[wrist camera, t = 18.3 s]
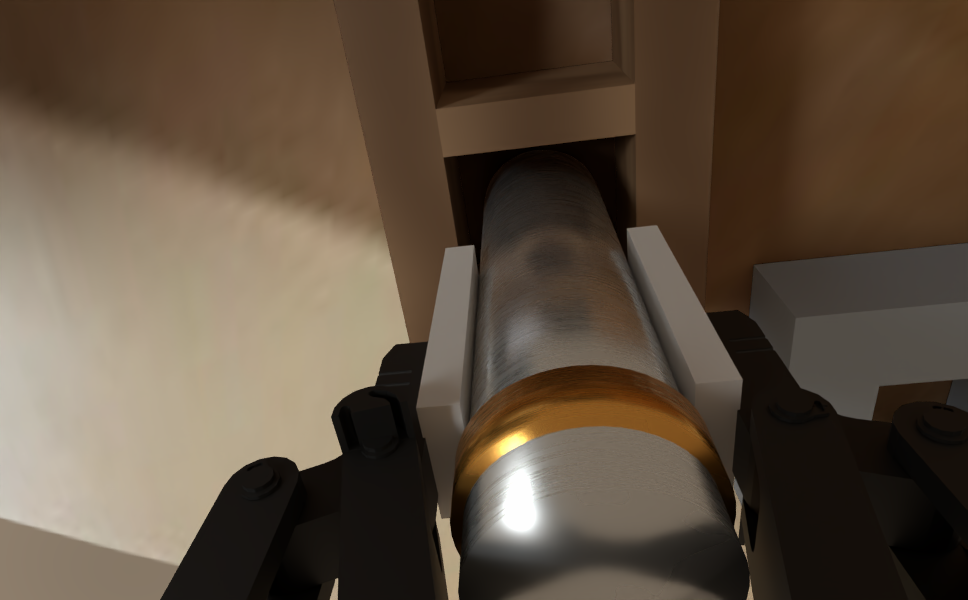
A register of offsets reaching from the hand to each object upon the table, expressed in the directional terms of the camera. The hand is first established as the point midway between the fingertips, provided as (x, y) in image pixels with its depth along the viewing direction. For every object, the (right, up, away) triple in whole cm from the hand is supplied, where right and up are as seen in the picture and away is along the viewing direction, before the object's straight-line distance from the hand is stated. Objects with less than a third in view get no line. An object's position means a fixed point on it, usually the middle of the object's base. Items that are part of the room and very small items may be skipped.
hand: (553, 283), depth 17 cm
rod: (0, +3, +5) cm, 6 cm away
